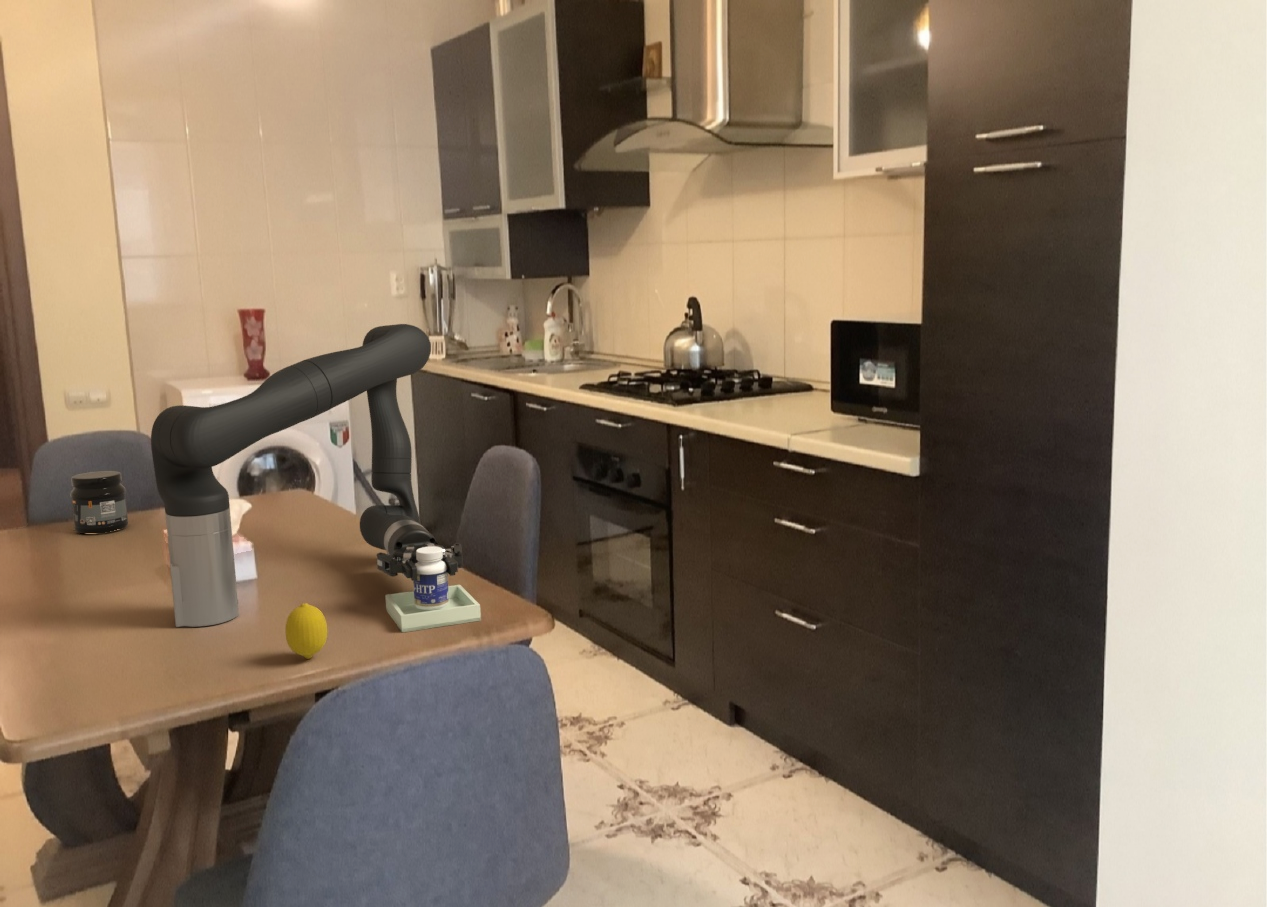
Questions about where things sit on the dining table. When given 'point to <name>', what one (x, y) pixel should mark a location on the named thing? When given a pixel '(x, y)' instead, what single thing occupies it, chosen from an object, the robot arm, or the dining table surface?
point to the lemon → (306, 630)
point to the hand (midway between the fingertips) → (434, 571)
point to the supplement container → (98, 502)
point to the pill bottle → (431, 579)
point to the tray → (413, 618)
